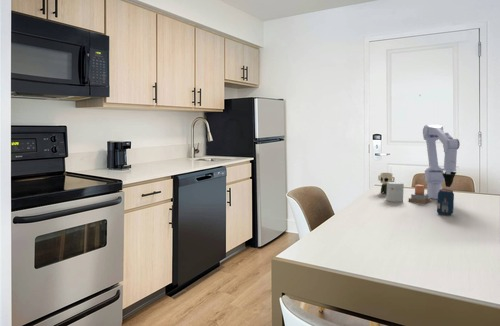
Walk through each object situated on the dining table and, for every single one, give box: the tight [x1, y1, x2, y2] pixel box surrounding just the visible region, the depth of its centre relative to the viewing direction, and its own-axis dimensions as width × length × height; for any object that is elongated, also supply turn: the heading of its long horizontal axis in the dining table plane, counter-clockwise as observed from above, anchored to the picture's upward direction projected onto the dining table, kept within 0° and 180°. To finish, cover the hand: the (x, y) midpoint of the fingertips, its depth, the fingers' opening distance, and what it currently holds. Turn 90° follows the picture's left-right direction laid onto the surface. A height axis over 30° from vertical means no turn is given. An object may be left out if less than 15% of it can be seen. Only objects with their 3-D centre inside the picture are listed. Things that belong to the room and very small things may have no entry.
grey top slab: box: [410, 192, 428, 200], centre depth 203 cm, size 7×7×2 cm
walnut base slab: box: [408, 197, 432, 205], centre depth 204 cm, size 9×9×2 cm
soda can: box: [436, 188, 455, 217], centre depth 174 cm, size 7×7×12 cm
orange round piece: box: [414, 184, 425, 195], centre depth 203 cm, size 5×5×5 cm
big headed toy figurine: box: [377, 172, 395, 195], centre depth 227 cm, size 11×7×13 cm, turn 40°
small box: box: [385, 181, 405, 203], centre depth 206 cm, size 8×6×10 cm
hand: (448, 185), depth 195 cm, fingers open, 7 cm apart
